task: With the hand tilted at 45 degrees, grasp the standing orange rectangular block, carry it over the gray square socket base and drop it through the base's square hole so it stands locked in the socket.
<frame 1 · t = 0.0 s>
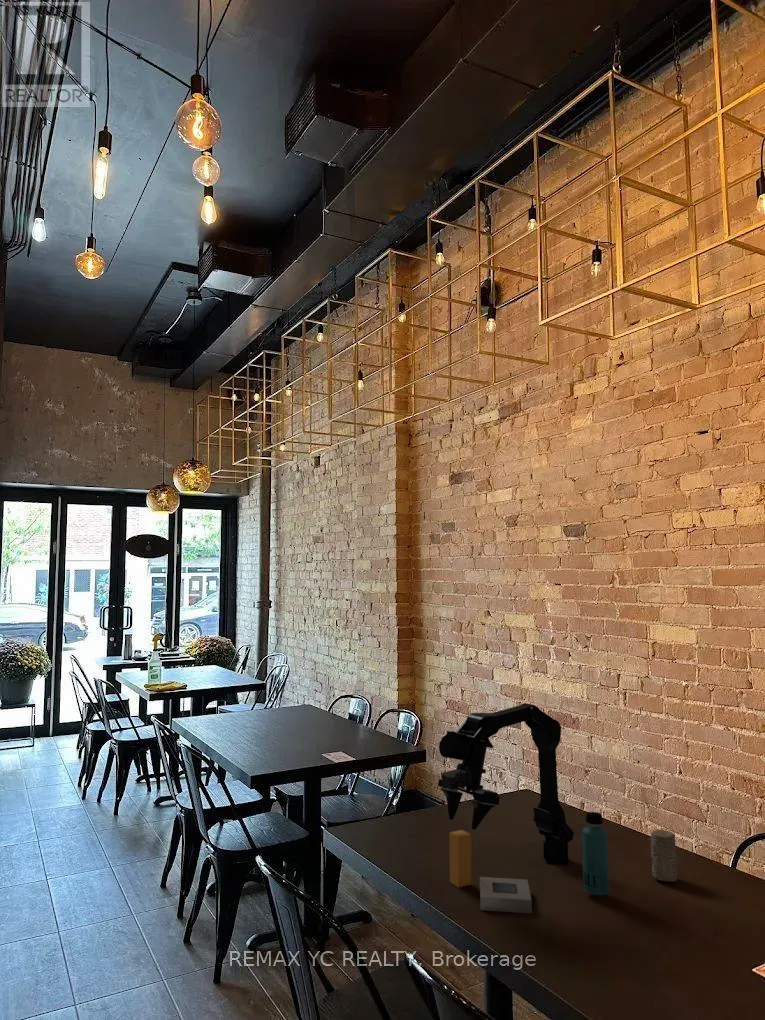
hand: (462, 824, 182), 15 cm above the table, tool pointing down, fingers open, 9 cm apart
decorative vessel: (664, 880, 185), on the table
orange rectangular block: (460, 883, 182), on the table
gray square socket base: (504, 900, 172), on the table
beverage bottle: (596, 897, 175), on the table
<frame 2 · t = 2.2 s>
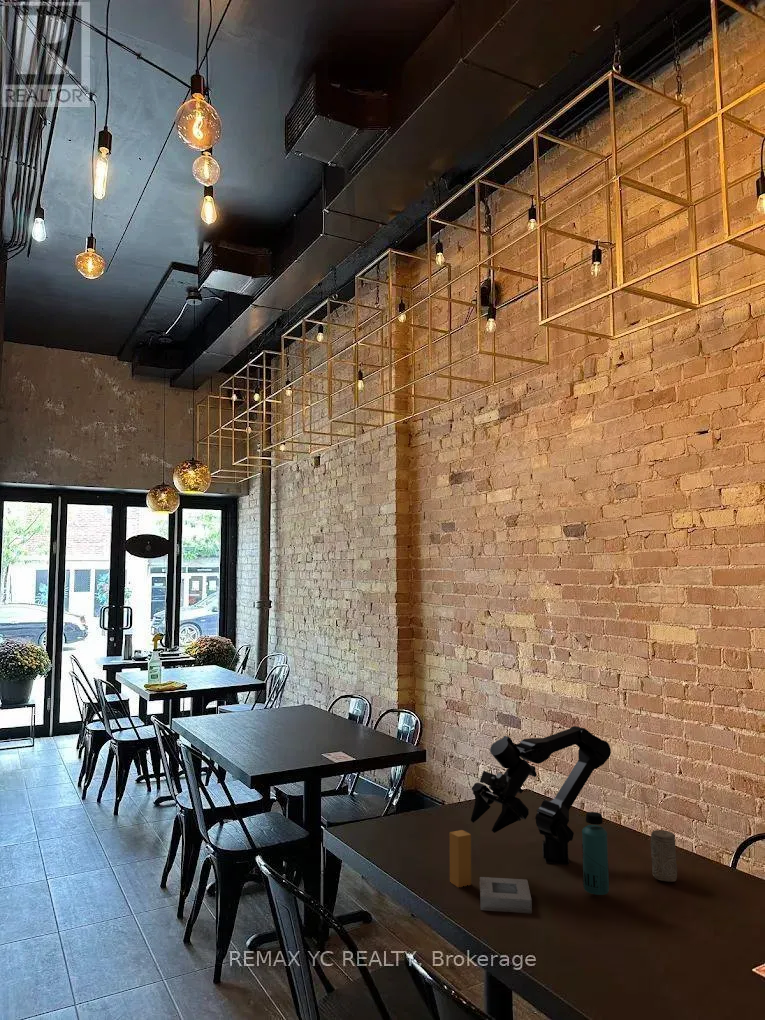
hand: (482, 826, 187), 13 cm above the table, tool tilted 45°, fingers open, 9 cm apart
nothing on the table moved.
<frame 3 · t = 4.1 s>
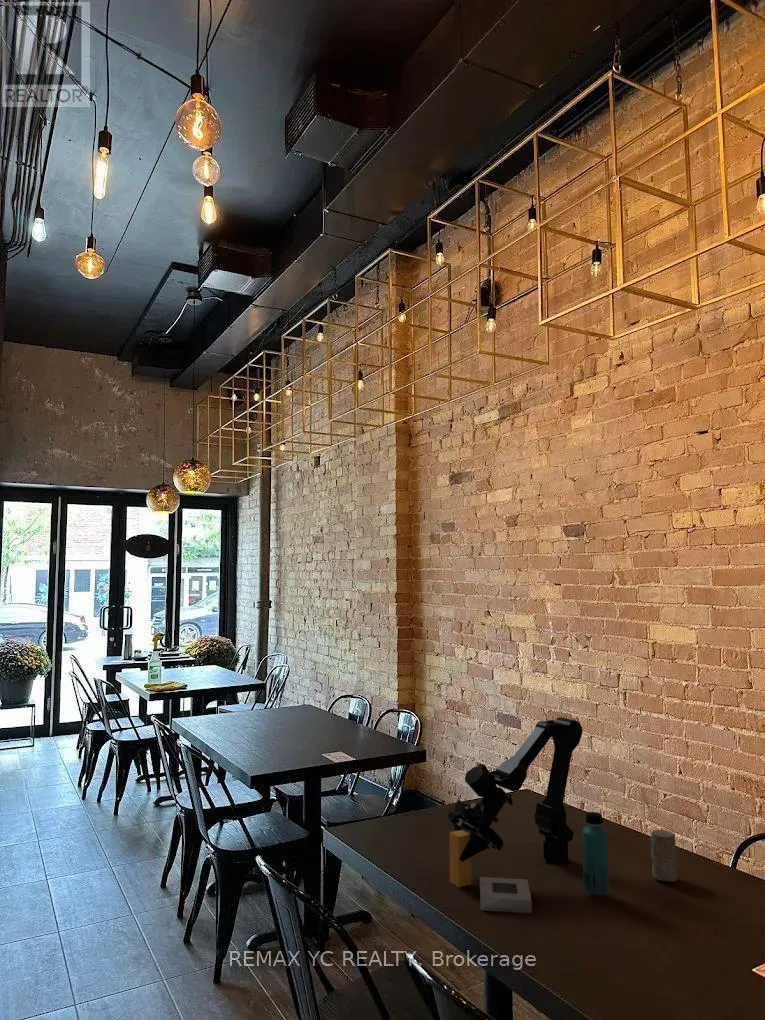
hand: (455, 857, 182), 7 cm above the table, tool tilted 45°, fingers closed on orange rectangular block, 4 cm apart
orange rectangular block: (460, 883, 182), on the table, touching gripper
everything else where it was.
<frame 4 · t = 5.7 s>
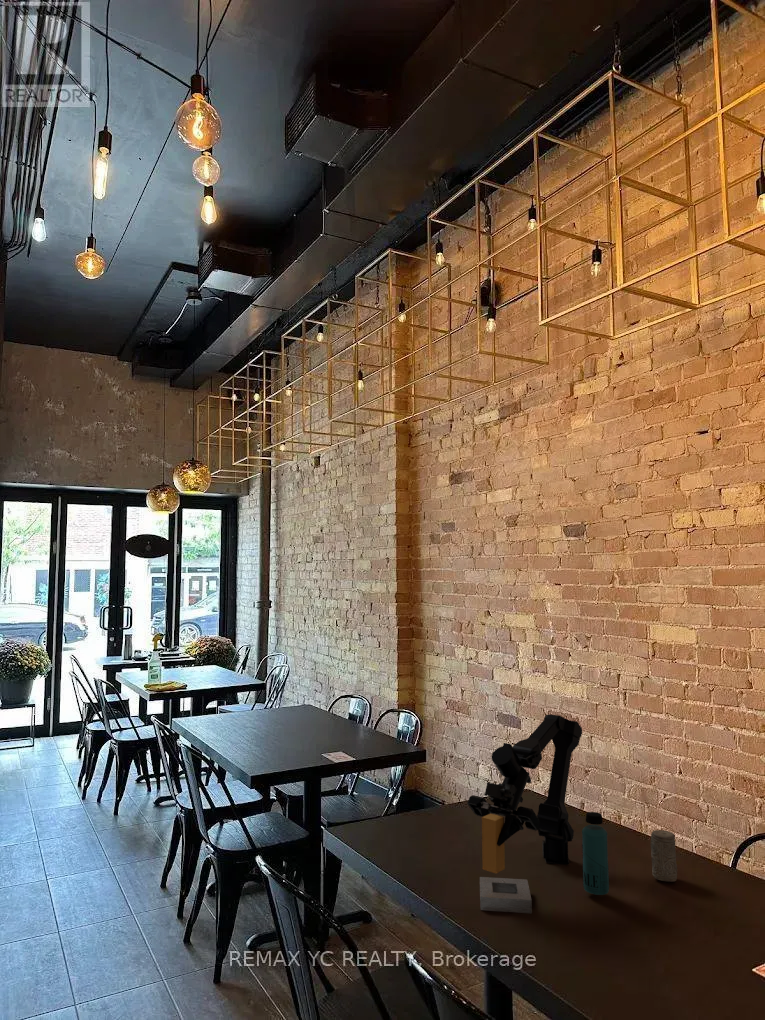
hand: (490, 842, 174), 13 cm above the table, tool tilted 45°, fingers closed on orange rectangular block, 4 cm apart
orange rectangular block: (493, 869, 175), point 7 cm above the table, touching gripper
everything else where it was.
when the fingers open (8 cm above the table, at t = 7.2 s): orange rectangular block drops 1 cm, resting in gray square socket base.
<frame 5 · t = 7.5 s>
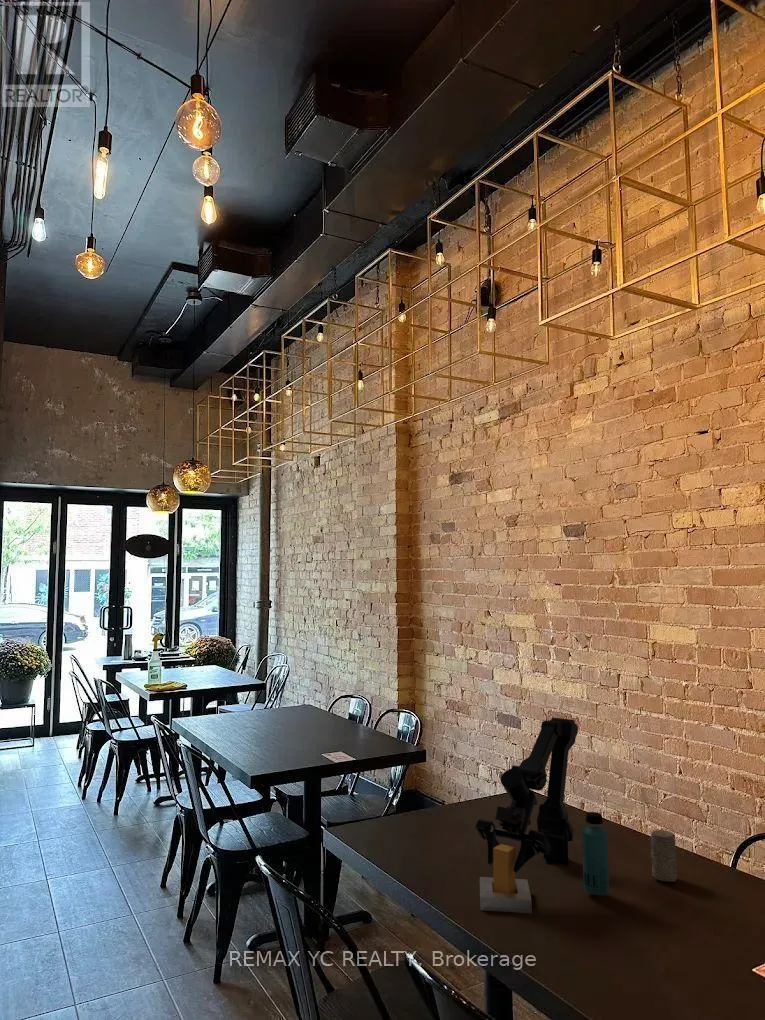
hand: (501, 868, 172), 8 cm above the table, tool tilted 45°, fingers open, 7 cm apart
orange rectangular block: (504, 900, 172), resting in gray square socket base
everything else where it was.
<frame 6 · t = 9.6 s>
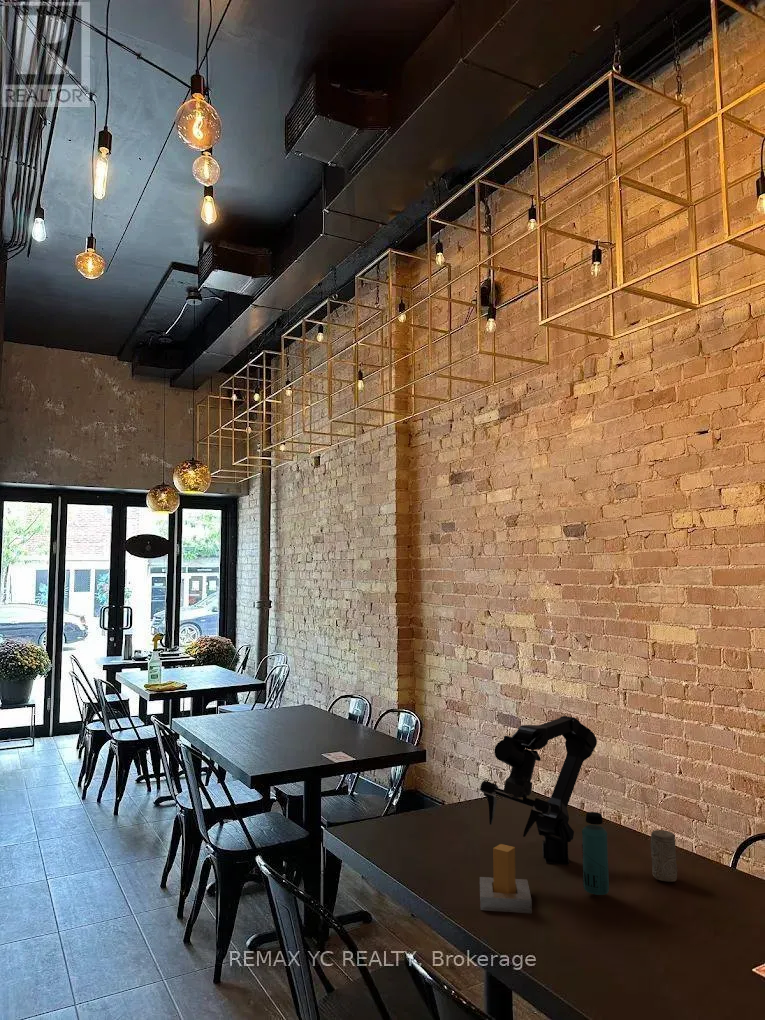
hand: (507, 830, 186), 12 cm above the table, tool tilted 25°, fingers open, 9 cm apart
nothing on the table moved.
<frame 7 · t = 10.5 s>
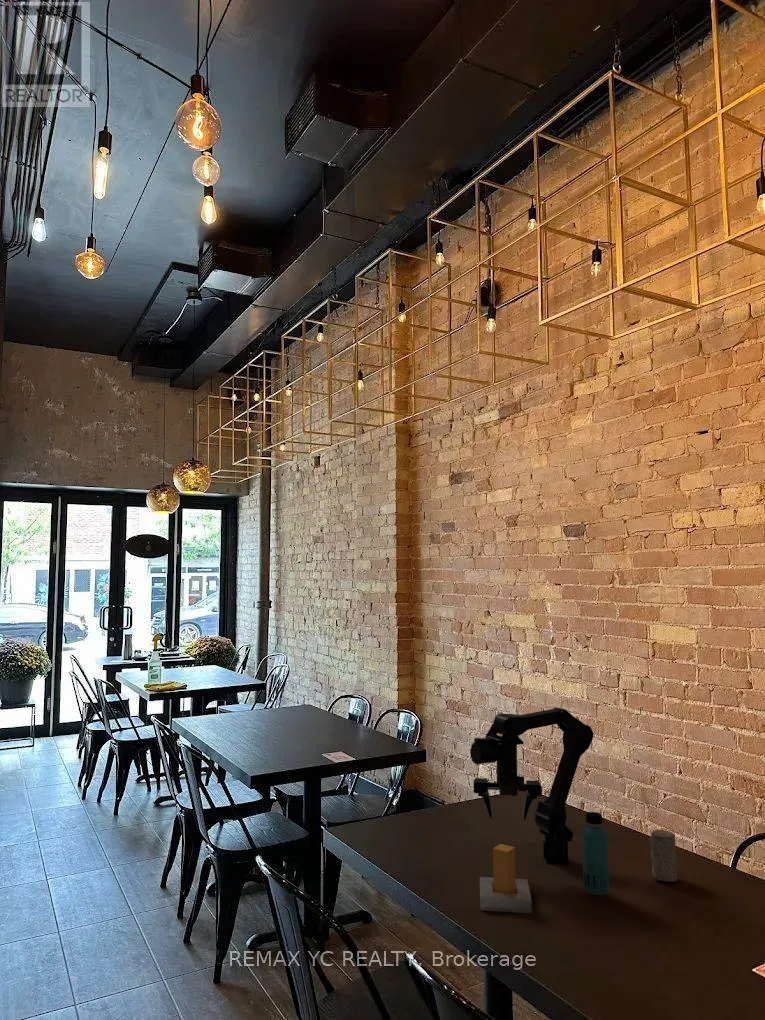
hand: (507, 819, 194), 13 cm above the table, tool pointing down, fingers open, 9 cm apart
nothing on the table moved.
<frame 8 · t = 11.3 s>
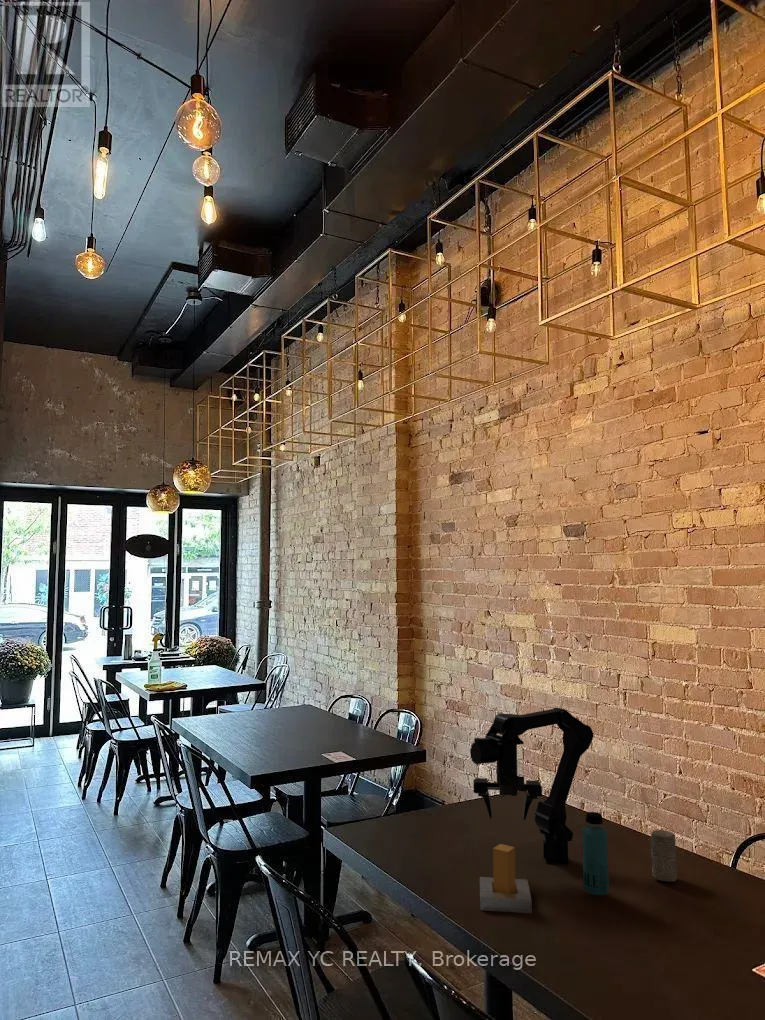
hand: (507, 819, 194), 13 cm above the table, tool pointing down, fingers open, 9 cm apart
nothing on the table moved.
at the end: orange rectangular block 0.0 cm off-centre on the gray square socket base, point 0.0 cm above the gray square socket base's base; orange rectangular block tilted 0°; the gripper is holding nothing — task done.
